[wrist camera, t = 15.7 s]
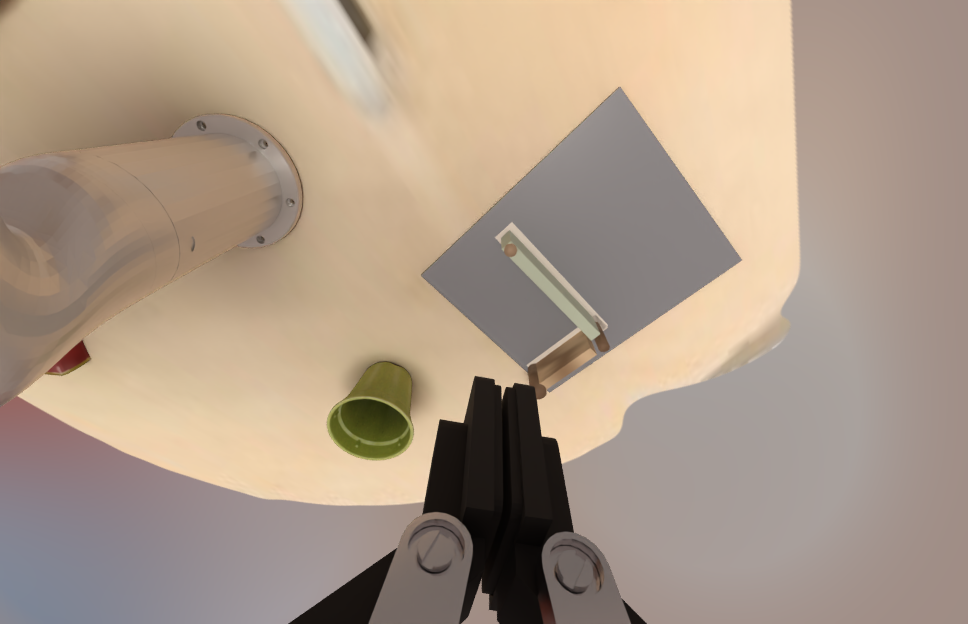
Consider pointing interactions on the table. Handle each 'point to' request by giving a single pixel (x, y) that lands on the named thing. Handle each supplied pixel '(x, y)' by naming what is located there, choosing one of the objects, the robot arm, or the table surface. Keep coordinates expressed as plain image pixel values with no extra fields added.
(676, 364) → the table surface
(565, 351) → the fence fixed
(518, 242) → the bar
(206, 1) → the table surface
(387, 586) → the robot arm
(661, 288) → the card
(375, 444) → the plant pot
